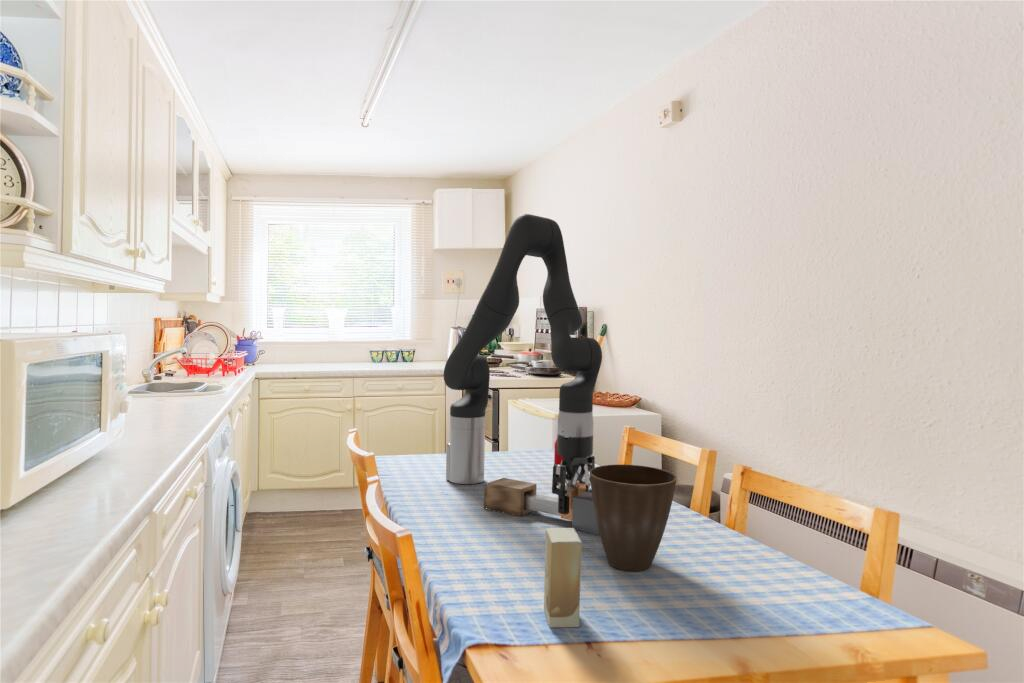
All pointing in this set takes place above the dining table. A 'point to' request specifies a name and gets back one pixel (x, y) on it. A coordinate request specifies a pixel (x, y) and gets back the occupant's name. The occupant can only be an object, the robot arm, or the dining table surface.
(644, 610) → the dining table surface
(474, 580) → the dining table surface
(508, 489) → the brown rectangular block
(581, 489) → the tan and grey bar
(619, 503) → the plant pot
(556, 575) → the skincare box
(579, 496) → the socket
